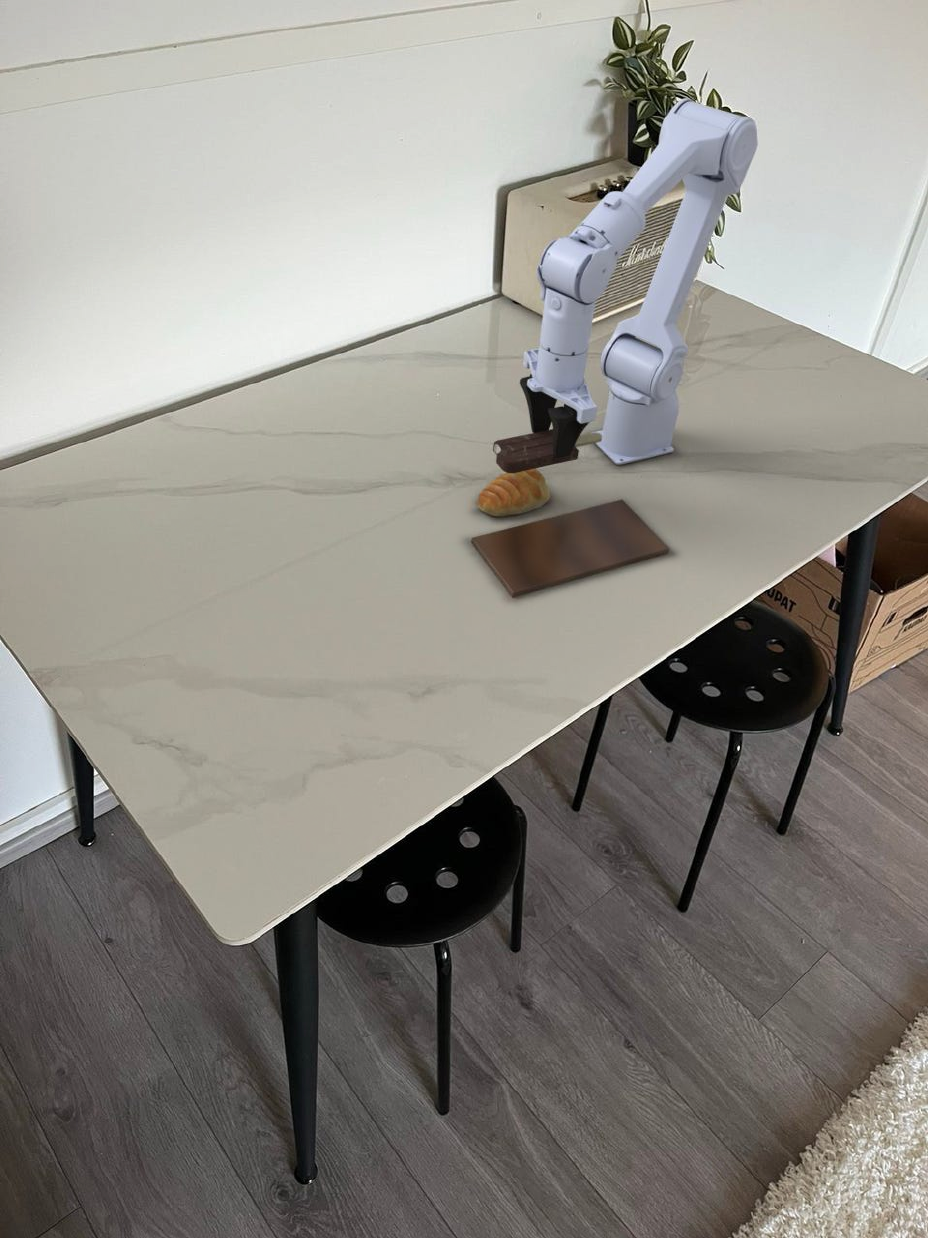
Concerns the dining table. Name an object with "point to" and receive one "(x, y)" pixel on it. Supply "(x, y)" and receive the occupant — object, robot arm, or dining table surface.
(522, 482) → the pastry
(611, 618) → the dining table surface
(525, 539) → the walnut board
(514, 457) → the ice cream bar
